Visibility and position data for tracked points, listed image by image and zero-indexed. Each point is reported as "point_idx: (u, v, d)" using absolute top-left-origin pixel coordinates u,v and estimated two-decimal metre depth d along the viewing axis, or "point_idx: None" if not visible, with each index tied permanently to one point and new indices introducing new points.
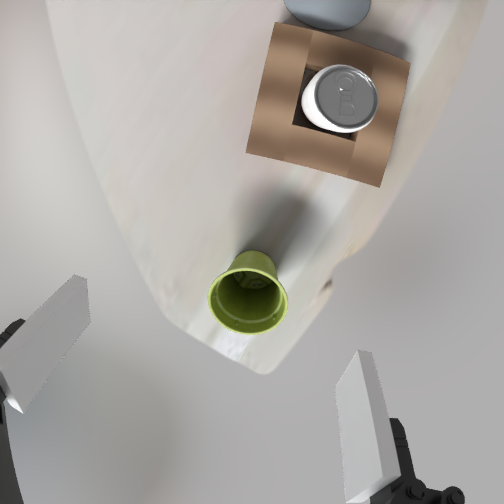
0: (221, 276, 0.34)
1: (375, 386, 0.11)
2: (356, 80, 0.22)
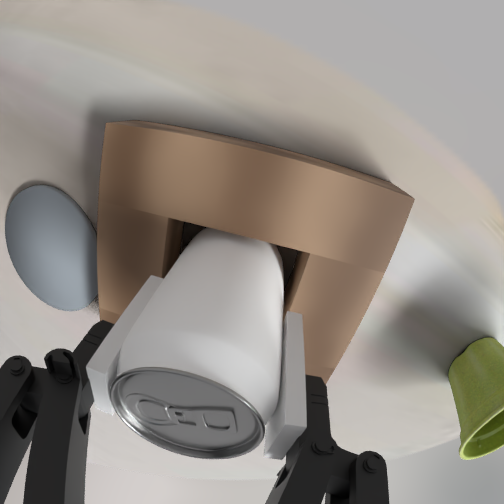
0: (461, 455, 0.16)
1: (297, 342, 0.13)
2: (137, 394, 0.09)
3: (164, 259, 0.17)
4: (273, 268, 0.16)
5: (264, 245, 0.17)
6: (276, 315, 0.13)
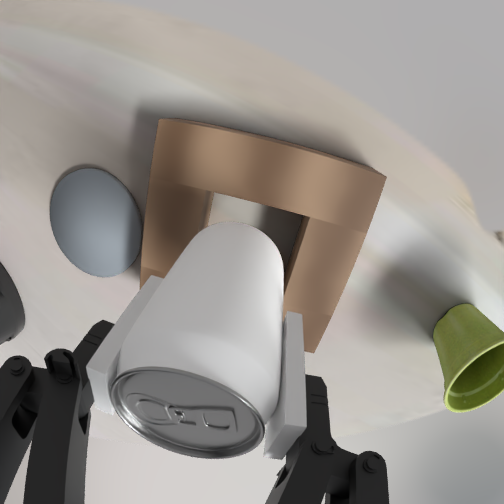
0: (446, 404, 0.21)
1: (297, 342, 0.13)
2: (137, 393, 0.09)
3: (200, 223, 0.22)
4: (272, 268, 0.16)
5: (264, 245, 0.17)
6: (276, 315, 0.13)
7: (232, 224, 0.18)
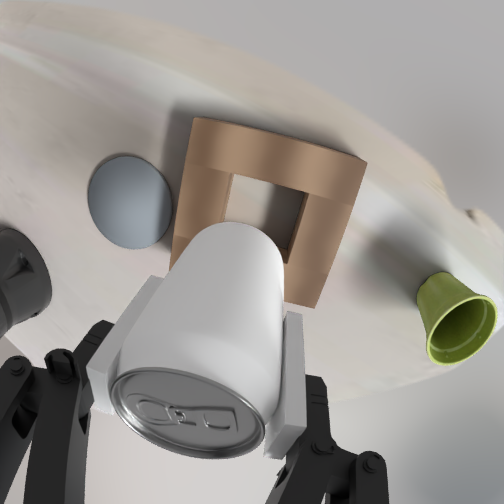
0: (429, 355, 0.28)
1: (297, 342, 0.13)
2: (137, 394, 0.09)
3: (224, 198, 0.29)
4: (273, 268, 0.16)
5: (264, 245, 0.17)
6: (276, 315, 0.13)
7: (232, 224, 0.18)
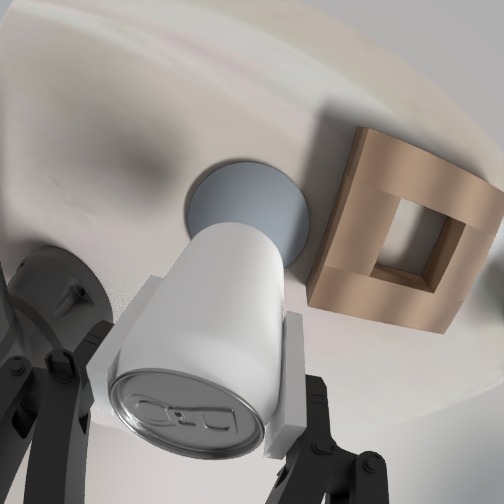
0: None
1: (297, 342, 0.13)
2: (136, 395, 0.09)
3: None
4: (272, 269, 0.16)
5: (264, 245, 0.17)
6: (276, 316, 0.13)
7: (232, 224, 0.18)
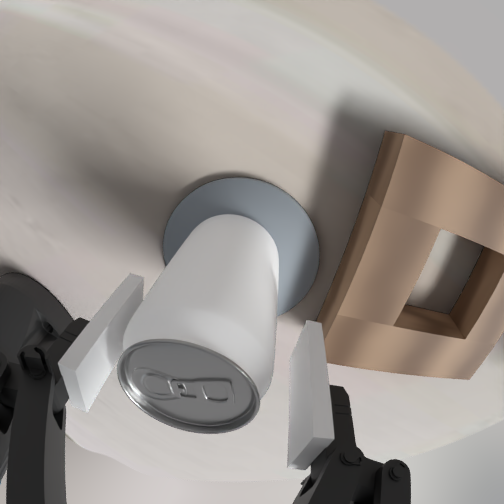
0: None
1: (319, 353, 0.12)
2: (142, 368, 0.10)
3: None
4: (268, 256, 0.17)
5: (260, 235, 0.18)
6: (270, 297, 0.14)
7: (230, 216, 0.19)
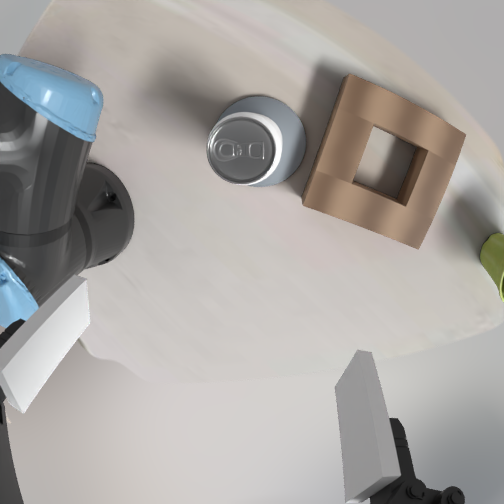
0: (500, 293, 0.30)
1: (375, 386, 0.11)
2: (221, 138, 0.24)
3: (365, 144, 0.31)
4: (277, 127, 0.30)
5: (273, 121, 0.31)
6: (279, 133, 0.27)
7: None
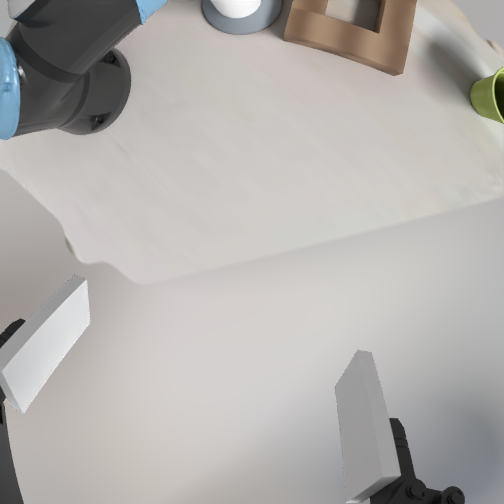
0: (498, 111, 0.26)
1: (375, 386, 0.11)
2: None
3: None
4: None
5: None
6: None
7: None
